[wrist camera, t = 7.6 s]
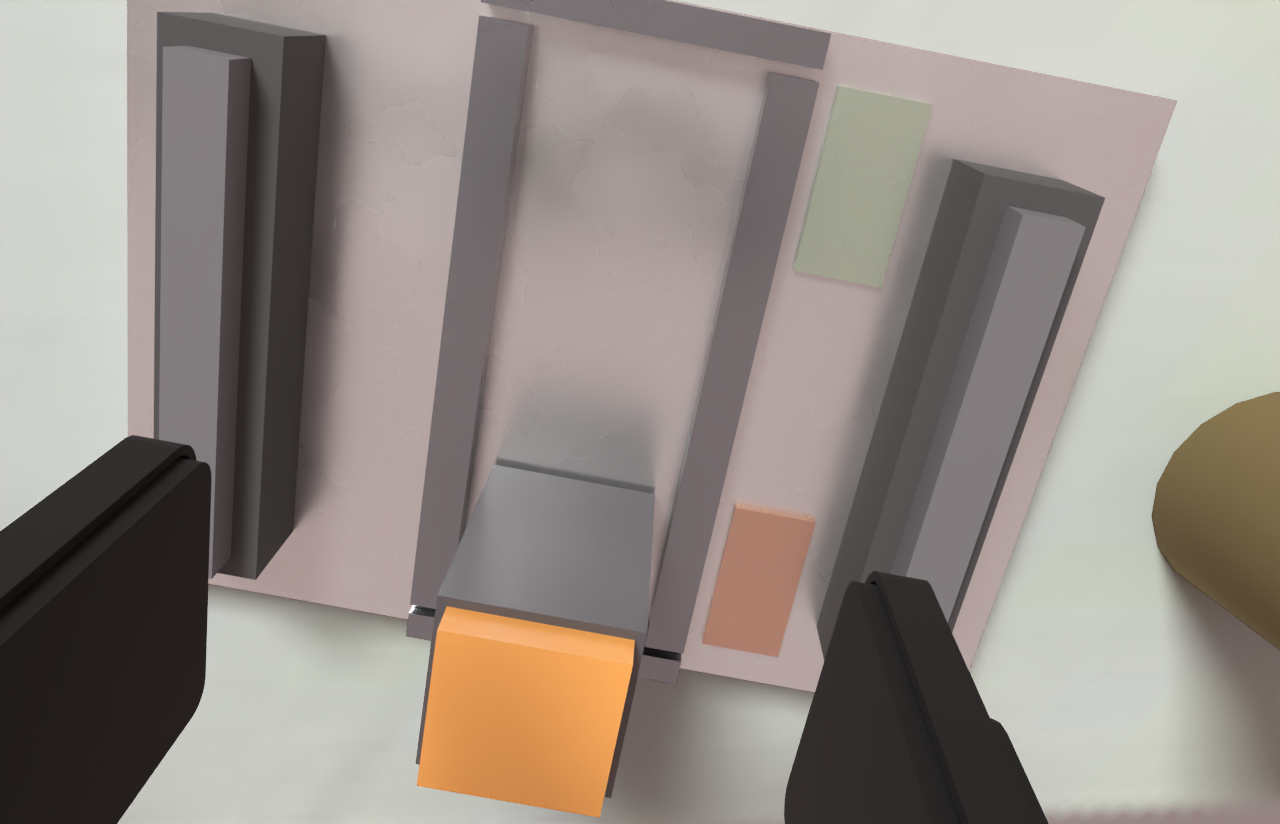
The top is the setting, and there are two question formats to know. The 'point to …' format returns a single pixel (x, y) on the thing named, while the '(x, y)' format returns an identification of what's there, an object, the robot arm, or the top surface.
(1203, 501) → the cork
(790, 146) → the panel
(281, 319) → the long gray rail
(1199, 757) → the top surface
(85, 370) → the top surface
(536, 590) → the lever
